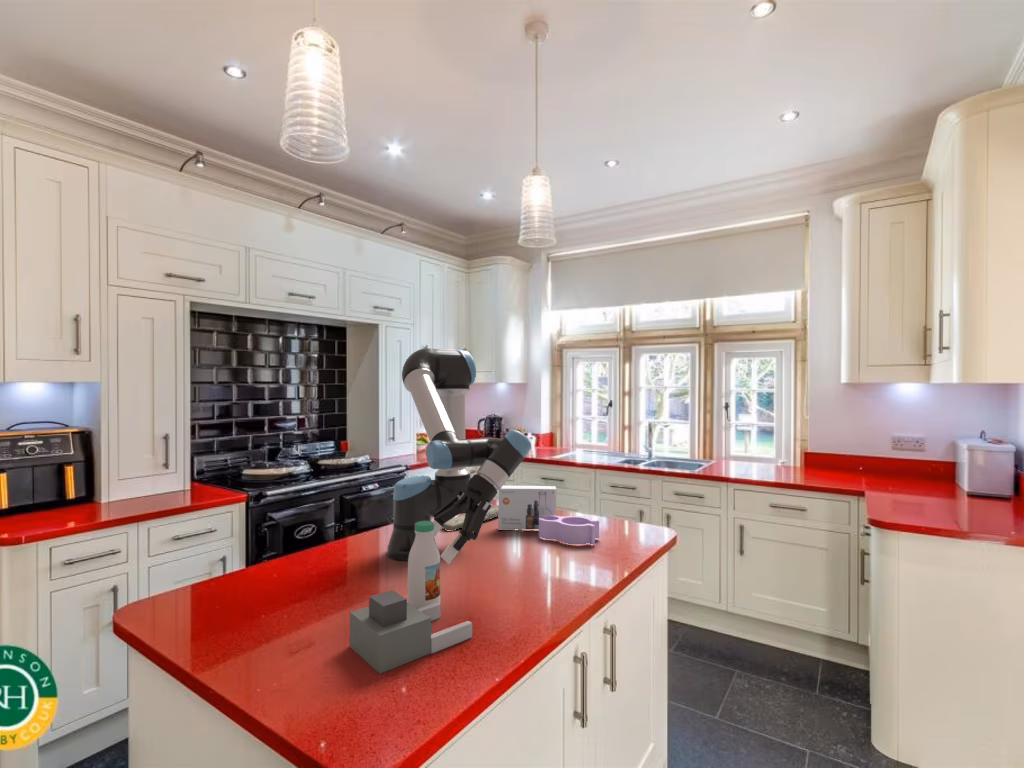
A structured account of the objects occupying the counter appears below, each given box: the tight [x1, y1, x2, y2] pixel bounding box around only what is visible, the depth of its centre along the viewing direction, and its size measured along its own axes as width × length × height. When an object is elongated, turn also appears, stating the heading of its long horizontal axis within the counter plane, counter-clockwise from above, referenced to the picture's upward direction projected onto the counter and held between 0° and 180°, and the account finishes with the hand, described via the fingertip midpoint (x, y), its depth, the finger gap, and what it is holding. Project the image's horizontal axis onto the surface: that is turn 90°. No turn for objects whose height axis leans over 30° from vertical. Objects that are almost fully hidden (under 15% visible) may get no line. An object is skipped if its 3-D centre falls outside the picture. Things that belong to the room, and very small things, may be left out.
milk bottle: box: [407, 520, 441, 609], centre depth 123 cm, size 8×8×20 cm
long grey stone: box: [442, 503, 498, 531], centre depth 200 cm, size 35×5×10 cm
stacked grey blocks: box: [349, 589, 473, 674], centre depth 106 cm, size 14×21×11 cm, turn 132°
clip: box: [538, 514, 600, 545], centre depth 177 cm, size 20×12×7 cm, turn 68°
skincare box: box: [497, 485, 557, 530], centre depth 188 cm, size 21×6×16 cm, turn 90°
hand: (432, 552), depth 123 cm, fingers open, 13 cm apart
